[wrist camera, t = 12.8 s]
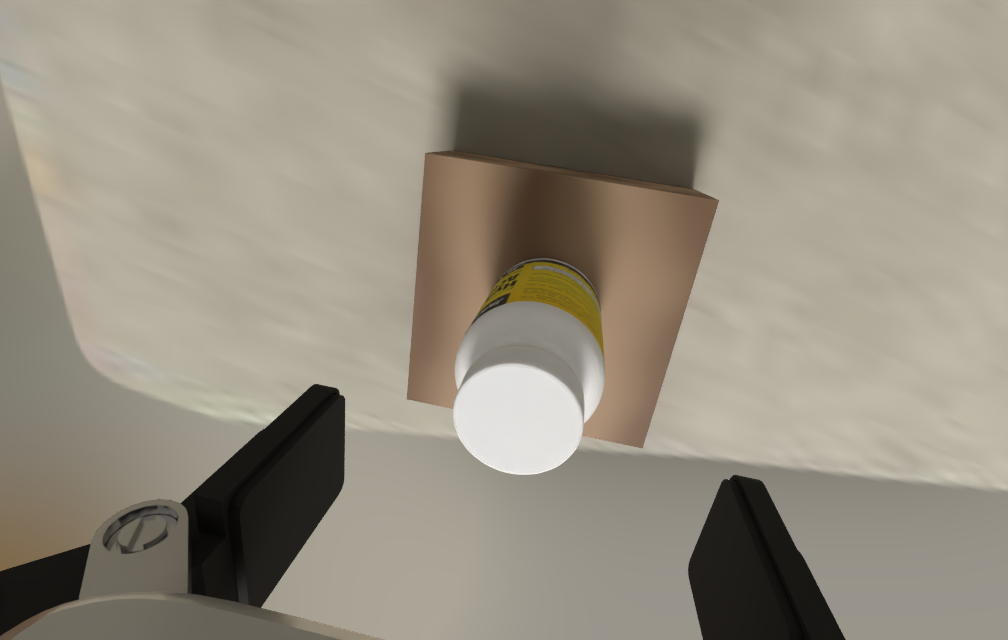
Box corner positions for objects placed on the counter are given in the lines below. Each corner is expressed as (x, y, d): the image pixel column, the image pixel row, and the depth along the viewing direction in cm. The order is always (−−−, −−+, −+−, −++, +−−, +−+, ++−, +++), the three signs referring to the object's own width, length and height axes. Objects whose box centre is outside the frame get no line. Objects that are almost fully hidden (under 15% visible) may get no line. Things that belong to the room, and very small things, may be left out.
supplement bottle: (516, 235, 22) (470, 306, 13) (620, 286, 22) (648, 391, 13) (472, 331, 24) (406, 449, 15) (567, 376, 24) (560, 521, 15)
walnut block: (692, 189, 25) (719, 200, 20) (632, 399, 30) (642, 448, 25) (453, 150, 26) (425, 153, 21) (432, 359, 31) (406, 399, 26)
